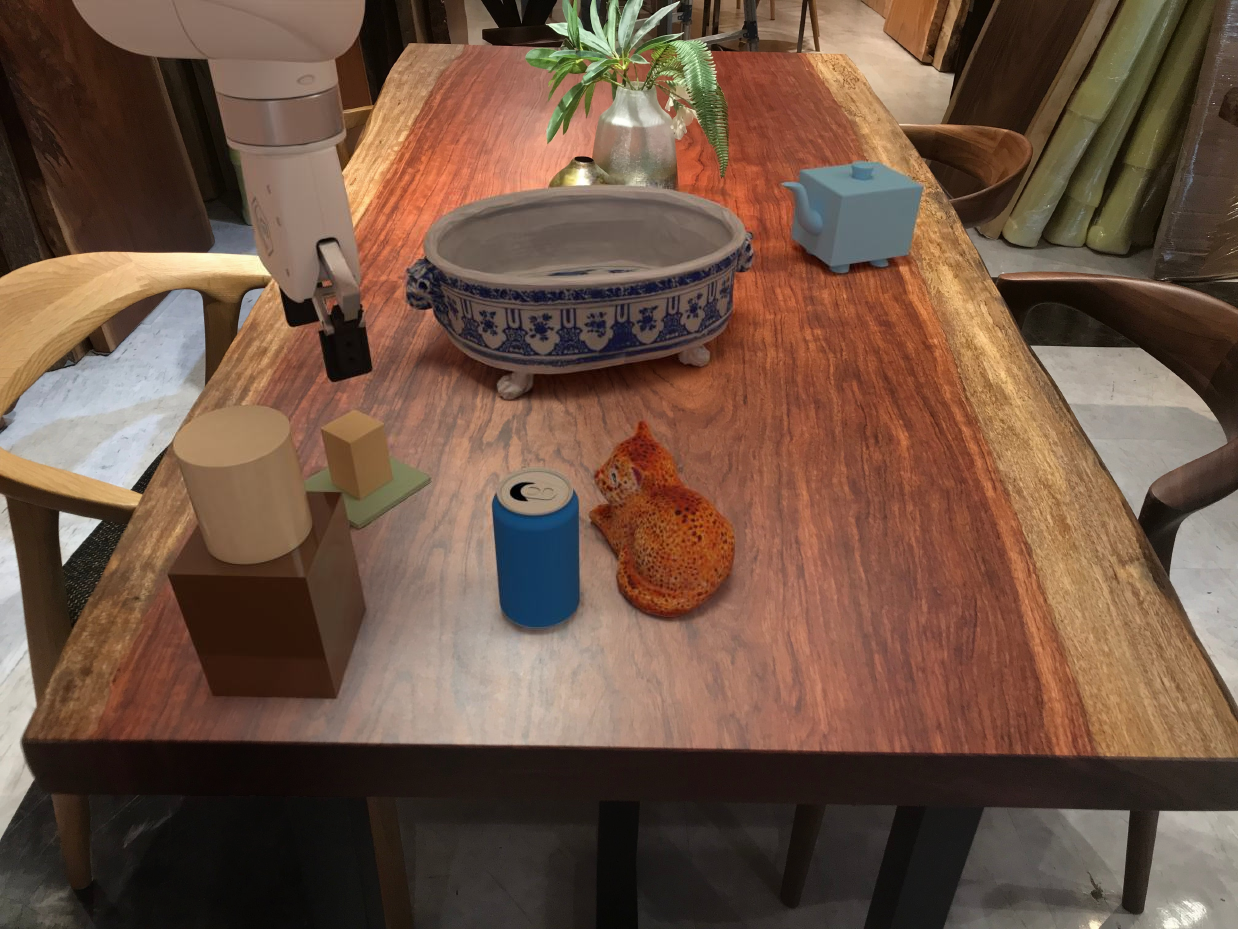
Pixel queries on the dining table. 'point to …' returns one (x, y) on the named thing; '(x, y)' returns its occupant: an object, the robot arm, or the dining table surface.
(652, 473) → the figurine
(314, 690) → the cylinder on cube
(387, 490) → the block on board
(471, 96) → the dining table surface
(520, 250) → the decorative bowl
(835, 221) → the teapot
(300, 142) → the robot arm
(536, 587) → the beverage can
